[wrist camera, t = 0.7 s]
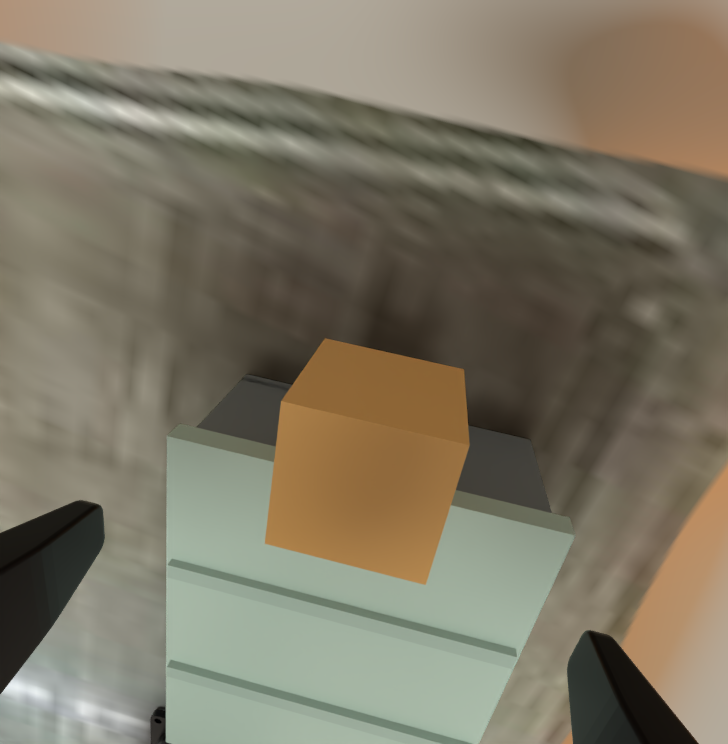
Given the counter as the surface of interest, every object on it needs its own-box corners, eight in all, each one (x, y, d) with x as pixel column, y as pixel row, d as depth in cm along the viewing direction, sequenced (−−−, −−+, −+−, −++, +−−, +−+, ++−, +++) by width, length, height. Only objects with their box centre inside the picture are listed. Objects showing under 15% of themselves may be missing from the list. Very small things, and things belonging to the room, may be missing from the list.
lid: (441, 800, 22) (440, 928, 18) (174, 723, 23) (122, 830, 19) (620, 404, 13) (685, 495, 10) (181, 306, 14) (90, 356, 11)
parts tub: (431, 704, 27) (427, 838, 22) (224, 647, 28) (171, 762, 23) (530, 439, 20) (560, 543, 14) (246, 374, 21) (175, 449, 15)
